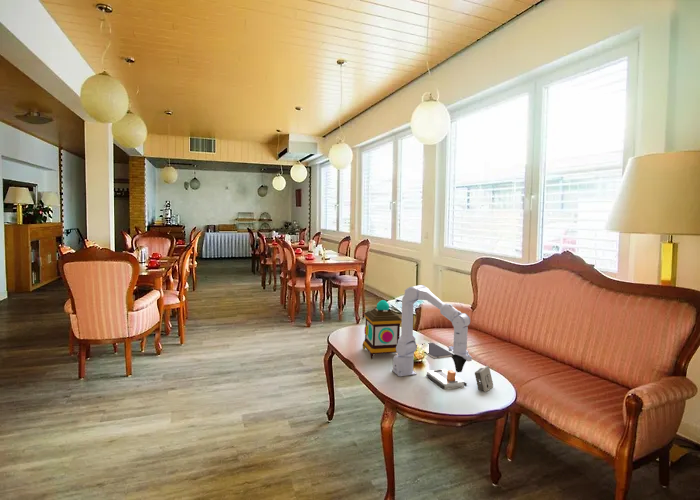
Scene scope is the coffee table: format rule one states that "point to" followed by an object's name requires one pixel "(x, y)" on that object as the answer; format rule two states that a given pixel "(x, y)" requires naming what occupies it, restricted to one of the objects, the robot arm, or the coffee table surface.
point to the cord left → (435, 381)
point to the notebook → (438, 351)
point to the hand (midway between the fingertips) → (458, 371)
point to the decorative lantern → (381, 330)
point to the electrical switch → (484, 379)
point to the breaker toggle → (451, 375)
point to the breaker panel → (445, 379)
